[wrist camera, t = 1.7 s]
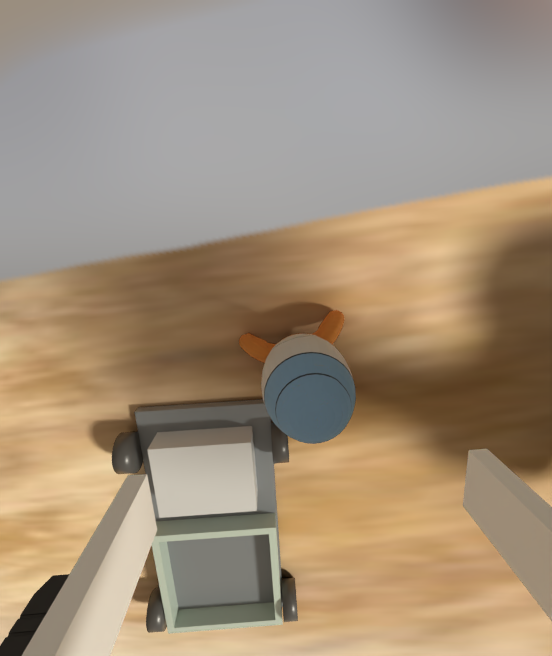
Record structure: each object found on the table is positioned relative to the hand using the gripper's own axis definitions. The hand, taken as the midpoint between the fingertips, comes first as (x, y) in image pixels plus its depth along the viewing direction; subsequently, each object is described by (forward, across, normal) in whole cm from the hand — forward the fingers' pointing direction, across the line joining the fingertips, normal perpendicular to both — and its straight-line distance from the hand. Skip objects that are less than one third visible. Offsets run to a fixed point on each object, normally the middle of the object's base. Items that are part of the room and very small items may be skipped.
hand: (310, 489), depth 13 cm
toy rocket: (+21, 0, 0) cm, 21 cm away
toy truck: (+21, +9, +20) cm, 30 cm away
